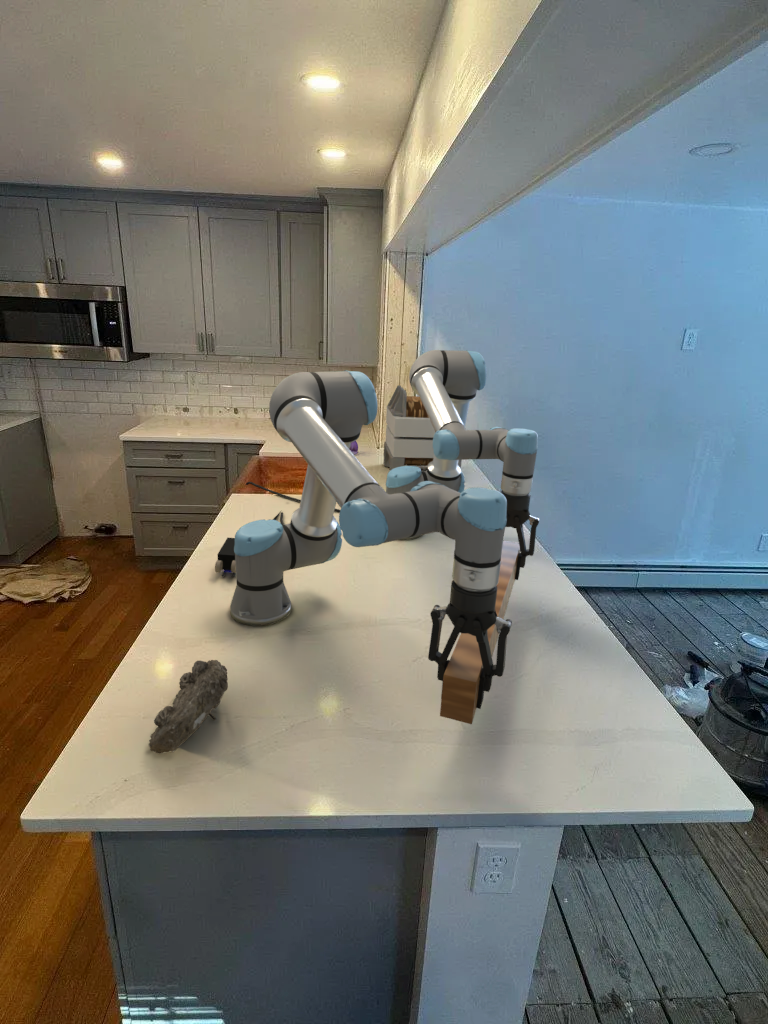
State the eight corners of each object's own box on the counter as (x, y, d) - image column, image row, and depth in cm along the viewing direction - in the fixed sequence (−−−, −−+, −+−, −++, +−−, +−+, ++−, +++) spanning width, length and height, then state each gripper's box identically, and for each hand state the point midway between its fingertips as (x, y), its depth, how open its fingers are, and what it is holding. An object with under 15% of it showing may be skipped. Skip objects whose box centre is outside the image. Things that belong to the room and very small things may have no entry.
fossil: (177, 661, 117) (228, 629, 112) (210, 691, 120) (261, 661, 115) (124, 747, 97) (183, 713, 92) (164, 781, 100) (223, 749, 95)
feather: (288, 505, 226) (290, 501, 226) (271, 529, 199) (273, 524, 199) (284, 503, 226) (287, 499, 225) (266, 526, 199) (269, 522, 199)
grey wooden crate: (382, 463, 289) (386, 382, 275) (445, 464, 293) (451, 384, 279) (390, 482, 257) (394, 392, 243) (460, 483, 261) (468, 394, 247)
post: (496, 568, 155) (500, 539, 152) (517, 571, 153) (521, 543, 150) (439, 716, 97) (443, 674, 94) (471, 724, 96) (476, 682, 93)
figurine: (346, 456, 299) (346, 428, 294) (338, 451, 308) (338, 424, 302) (362, 454, 303) (363, 427, 298) (354, 450, 312) (354, 423, 307)
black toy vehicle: (238, 584, 162) (249, 557, 175) (236, 562, 158) (247, 536, 172) (215, 584, 161) (227, 556, 175) (212, 561, 158) (225, 535, 171)
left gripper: (413, 581, 92) (406, 699, 100) (530, 603, 87) (512, 726, 95) (426, 563, 99) (417, 675, 107) (534, 583, 93) (517, 699, 101)
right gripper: (475, 490, 141) (467, 574, 149) (552, 501, 135) (539, 588, 143) (481, 482, 148) (472, 563, 155) (554, 492, 142) (542, 576, 150)
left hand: (462, 699), depth 101 cm, fingers closed on post, 6 cm apart
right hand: (504, 575), depth 149 cm, fingers closed on post, 6 cm apart
